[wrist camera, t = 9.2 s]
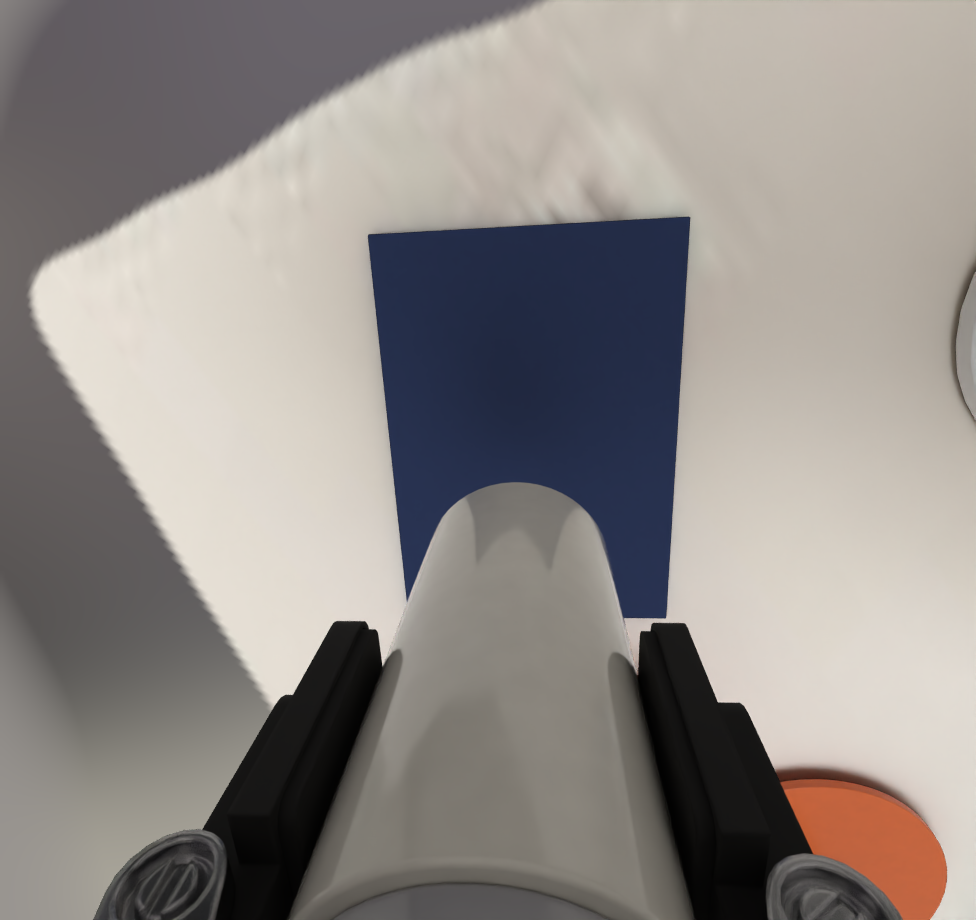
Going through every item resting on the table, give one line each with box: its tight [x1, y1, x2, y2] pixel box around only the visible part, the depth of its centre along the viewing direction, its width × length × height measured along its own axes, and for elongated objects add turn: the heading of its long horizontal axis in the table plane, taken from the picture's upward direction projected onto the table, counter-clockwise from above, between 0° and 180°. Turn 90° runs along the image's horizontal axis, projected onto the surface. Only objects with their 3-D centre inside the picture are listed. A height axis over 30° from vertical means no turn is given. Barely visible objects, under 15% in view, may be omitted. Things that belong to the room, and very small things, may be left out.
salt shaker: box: [287, 482, 696, 920], centre depth 10 cm, size 5×5×10 cm
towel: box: [368, 217, 690, 618], centre depth 25 cm, size 17×12×1 cm
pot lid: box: [780, 779, 947, 920], centre depth 29 cm, size 13×13×6 cm
